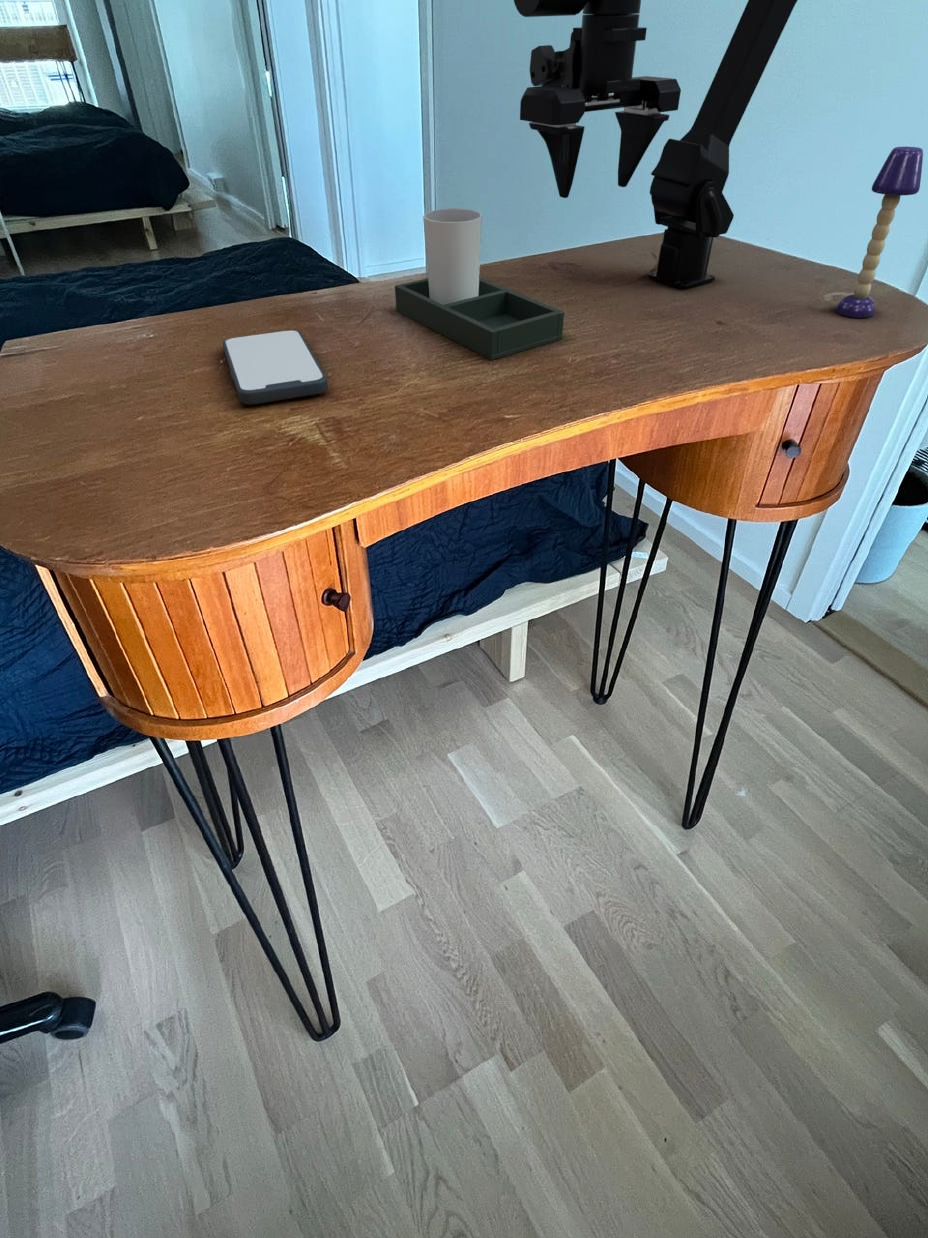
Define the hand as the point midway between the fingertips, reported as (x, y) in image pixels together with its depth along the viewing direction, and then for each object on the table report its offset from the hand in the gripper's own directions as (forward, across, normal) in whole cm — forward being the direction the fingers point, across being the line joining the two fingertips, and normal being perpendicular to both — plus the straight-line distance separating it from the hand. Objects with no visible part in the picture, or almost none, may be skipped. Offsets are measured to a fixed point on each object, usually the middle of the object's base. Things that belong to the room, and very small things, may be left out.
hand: (593, 191), depth 82 cm
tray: (+12, +16, -1) cm, 20 cm away
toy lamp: (+12, -23, +23) cm, 35 cm away
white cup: (+12, +16, -6) cm, 20 cm away
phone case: (+12, +41, -3) cm, 43 cm away
